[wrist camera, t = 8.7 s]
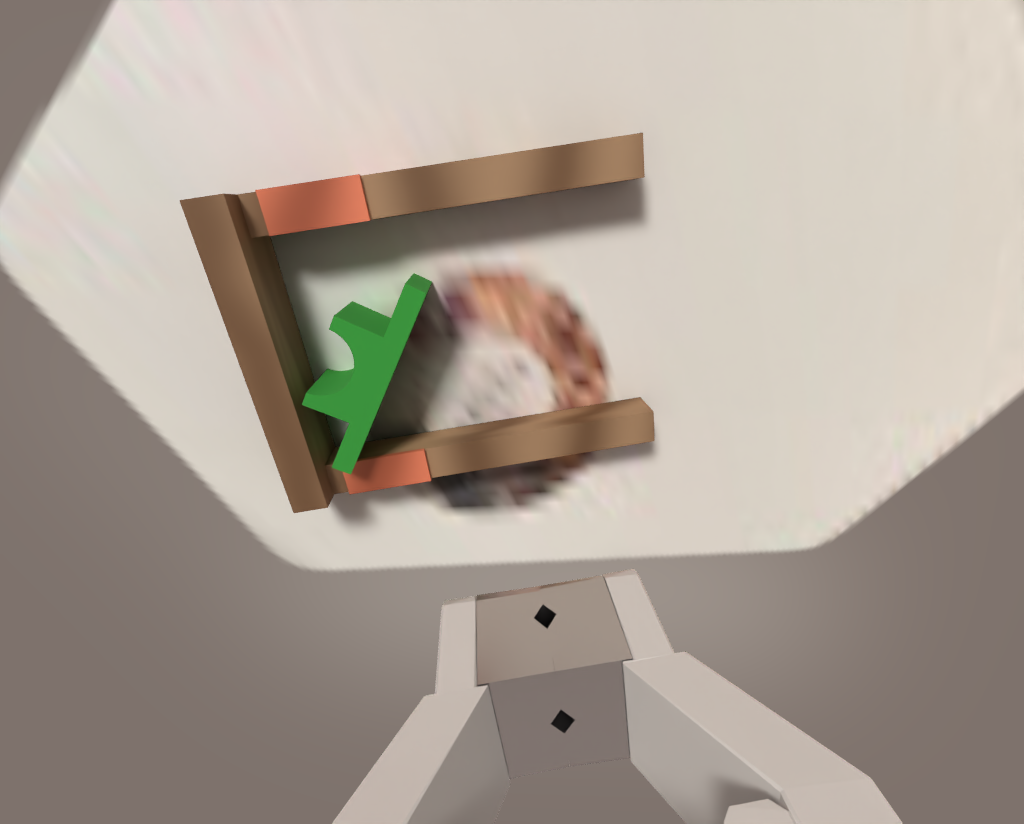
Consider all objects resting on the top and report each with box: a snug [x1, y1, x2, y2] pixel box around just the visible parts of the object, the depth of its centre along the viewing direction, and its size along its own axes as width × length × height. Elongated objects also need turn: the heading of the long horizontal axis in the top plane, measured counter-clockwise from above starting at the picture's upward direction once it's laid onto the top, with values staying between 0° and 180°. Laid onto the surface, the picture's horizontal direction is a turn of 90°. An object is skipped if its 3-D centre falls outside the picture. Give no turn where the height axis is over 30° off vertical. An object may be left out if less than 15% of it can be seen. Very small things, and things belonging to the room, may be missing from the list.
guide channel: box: [180, 133, 654, 513], centre depth 28 cm, size 22×17×4 cm
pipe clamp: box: [302, 274, 432, 474], centre depth 28 cm, size 11×4×5 cm, turn 154°
